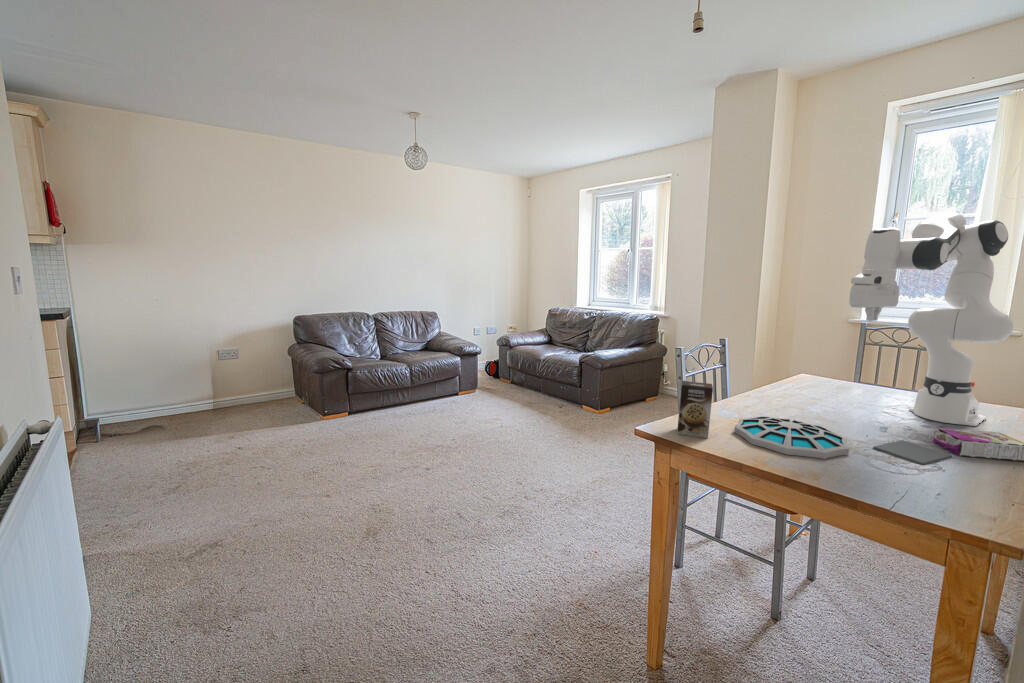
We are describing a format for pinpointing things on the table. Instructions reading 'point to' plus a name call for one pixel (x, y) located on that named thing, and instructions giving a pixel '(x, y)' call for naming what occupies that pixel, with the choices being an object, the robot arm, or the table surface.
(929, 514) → the table surface
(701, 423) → the brown food box
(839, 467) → the table surface
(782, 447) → the decorative platform
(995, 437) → the candy bar box
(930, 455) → the mat
